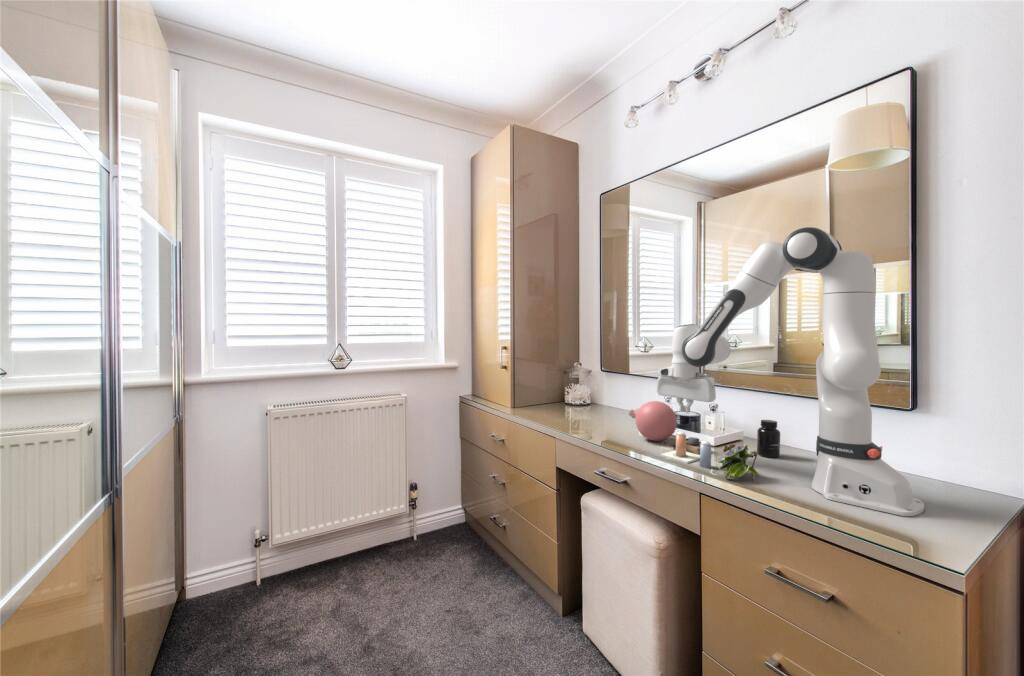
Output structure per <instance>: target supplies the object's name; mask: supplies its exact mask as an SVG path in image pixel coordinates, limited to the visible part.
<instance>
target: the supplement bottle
mask: <svg viewBox="0 0 1024 676" xmlns="http://www.w3.org/2000/svg"><path fill="white" fill-rule="evenodd" d="M780 431H781V430H780V429H778V421H776V420H772V419H761V420H760V427H759V428H757V432H756V435H757V436H756V452H757V453H758V454H757V456H760V457H764V458H768V459H769V458H770V459H778V458H780V455H781V432H780Z"/></svg>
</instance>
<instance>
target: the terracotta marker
mask: <svg viewBox="0 0 1024 676" xmlns="http://www.w3.org/2000/svg"><path fill="white" fill-rule="evenodd" d="M686 441H687V435H686V433H685V431H684V432H683V431H677V432H676V434H675V450H676V456H678V457H686Z"/></svg>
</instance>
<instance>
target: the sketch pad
mask: <svg viewBox="0 0 1024 676" xmlns="http://www.w3.org/2000/svg"><path fill="white" fill-rule="evenodd" d="M660 457H663V458H667V459H670V460H674V461H677V462H680V463H684V464H690V463H693V462H696V461H700V455H697V454H693V453H689V452H686V457H678V456H676V449H674V450H671V451H668V452H663V453H661V454H660Z"/></svg>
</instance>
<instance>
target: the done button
mask: <svg viewBox="0 0 1024 676" xmlns="http://www.w3.org/2000/svg"><path fill="white" fill-rule="evenodd" d="M687 441H688V445H692V446H699V442H700V438H698V437H693V436H690V437H687Z"/></svg>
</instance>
